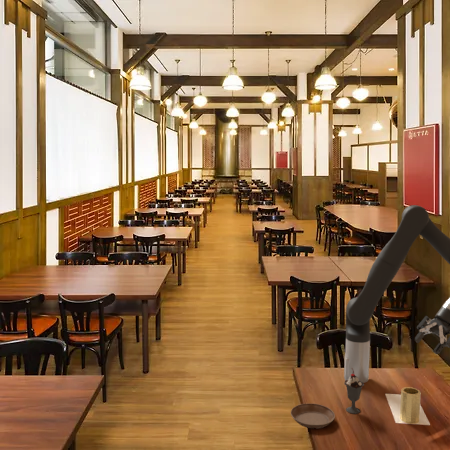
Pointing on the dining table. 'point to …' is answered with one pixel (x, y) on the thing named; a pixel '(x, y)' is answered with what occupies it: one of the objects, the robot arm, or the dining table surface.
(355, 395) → the sundae
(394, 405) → the mat
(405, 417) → the sleeve
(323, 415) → the saucer
